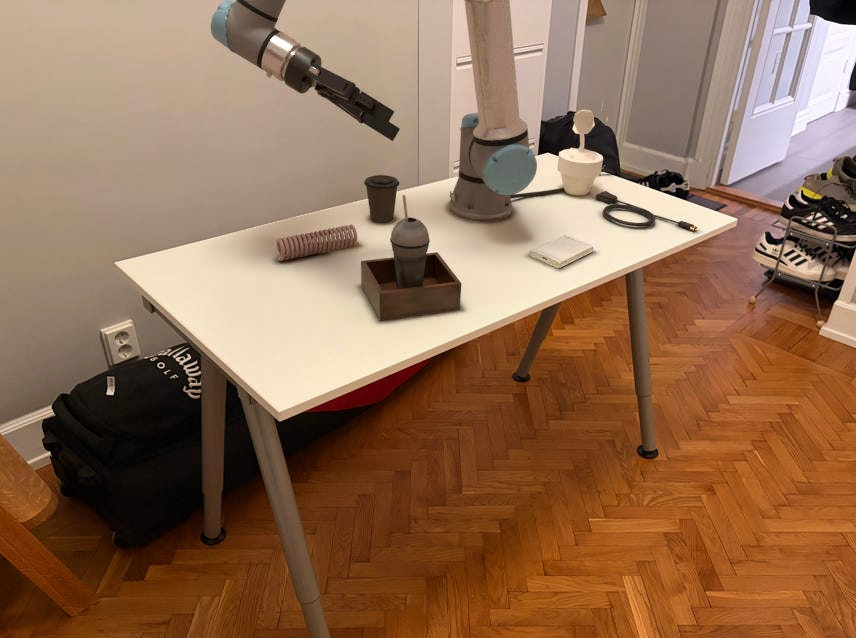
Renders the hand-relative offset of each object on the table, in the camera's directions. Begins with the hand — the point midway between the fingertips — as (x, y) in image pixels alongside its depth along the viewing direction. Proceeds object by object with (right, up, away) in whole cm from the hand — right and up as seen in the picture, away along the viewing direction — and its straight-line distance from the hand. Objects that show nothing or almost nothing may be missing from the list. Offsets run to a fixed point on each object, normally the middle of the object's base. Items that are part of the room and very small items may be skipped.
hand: (393, 127), depth 133 cm
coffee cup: (-6, -10, +37) cm, 39 cm away
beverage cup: (+2, -31, +6) cm, 31 cm away
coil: (-18, -20, +20) cm, 34 cm away
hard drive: (+34, -20, +26) cm, 48 cm away
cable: (+55, -8, +45) cm, 72 cm away
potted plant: (+43, +2, +59) cm, 73 cm away
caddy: (+3, -31, +6) cm, 32 cm away
